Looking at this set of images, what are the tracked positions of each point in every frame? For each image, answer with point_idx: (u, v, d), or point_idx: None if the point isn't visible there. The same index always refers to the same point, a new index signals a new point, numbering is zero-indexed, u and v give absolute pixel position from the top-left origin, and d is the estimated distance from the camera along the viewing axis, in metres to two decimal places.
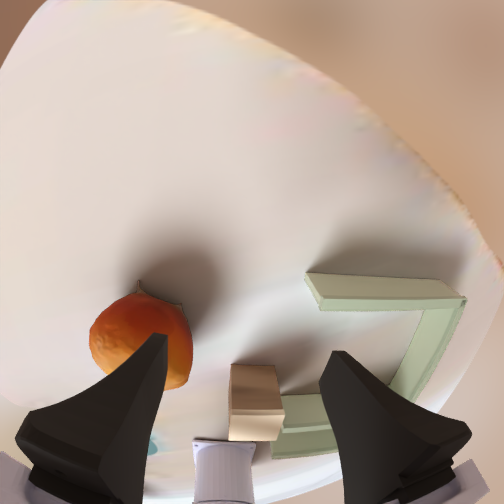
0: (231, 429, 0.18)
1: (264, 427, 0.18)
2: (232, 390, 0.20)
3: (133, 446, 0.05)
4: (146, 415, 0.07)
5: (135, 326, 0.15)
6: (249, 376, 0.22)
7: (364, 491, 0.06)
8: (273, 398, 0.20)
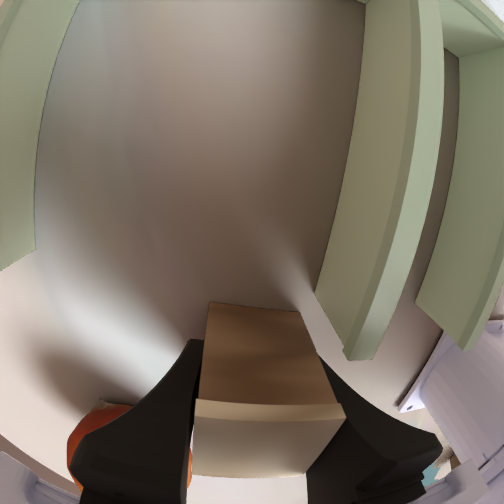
0: (251, 477, 0.07)
1: (256, 443, 0.06)
2: None
3: (186, 456, 0.06)
4: (191, 423, 0.07)
5: None
6: None
7: (324, 499, 0.06)
8: None
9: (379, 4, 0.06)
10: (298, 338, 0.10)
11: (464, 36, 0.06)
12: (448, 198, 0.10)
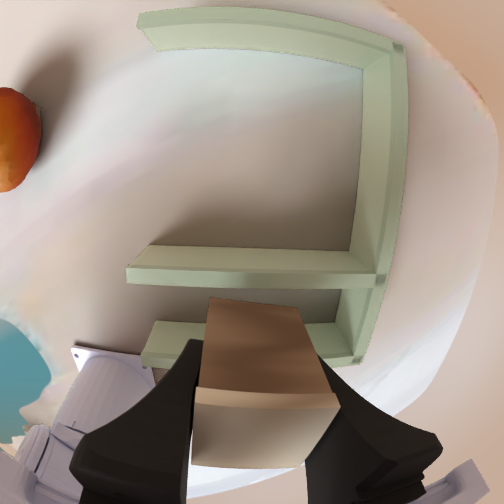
0: (249, 467, 0.08)
1: (254, 432, 0.07)
2: None
3: None
4: (191, 423, 0.07)
5: None
6: None
7: (324, 499, 0.06)
8: None
9: (345, 258, 0.17)
10: (295, 331, 0.10)
11: (347, 320, 0.18)
12: None
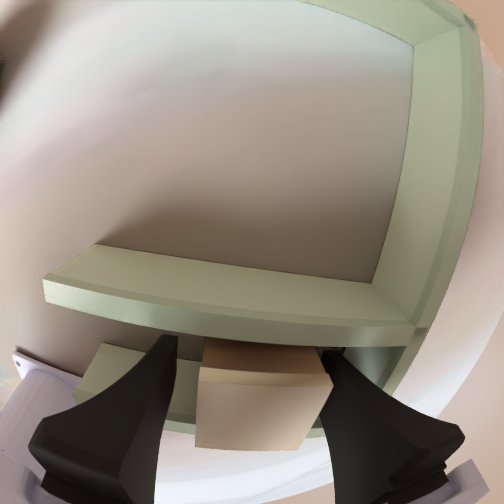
0: (250, 449, 0.08)
1: (254, 410, 0.08)
2: None
3: (147, 449, 0.06)
4: (158, 417, 0.07)
5: None
6: None
7: (354, 493, 0.06)
8: None
9: (368, 294, 0.12)
10: None
11: None
12: (197, 362, 0.14)
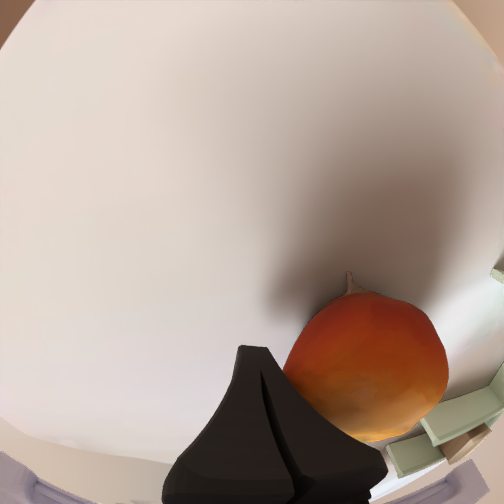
0: (461, 458, 0.15)
1: (474, 445, 0.14)
2: (441, 448, 0.17)
3: None
4: None
5: (428, 346, 0.08)
6: None
7: None
8: (461, 435, 0.16)
9: (490, 393, 0.18)
10: None
11: None
12: (424, 434, 0.21)
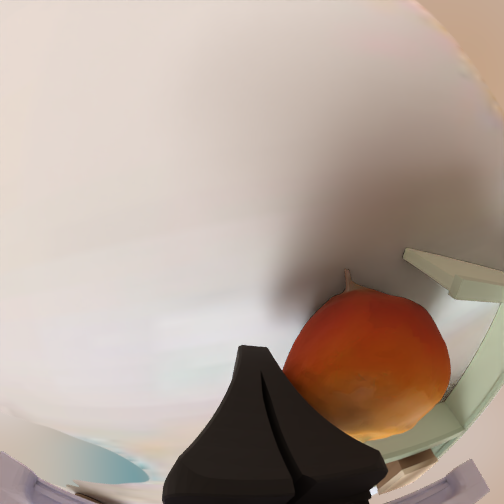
0: (398, 487, 0.14)
1: (411, 475, 0.13)
2: None
3: None
4: None
5: (428, 342, 0.08)
6: None
7: None
8: (393, 462, 0.14)
9: (445, 412, 0.17)
10: None
11: None
12: None
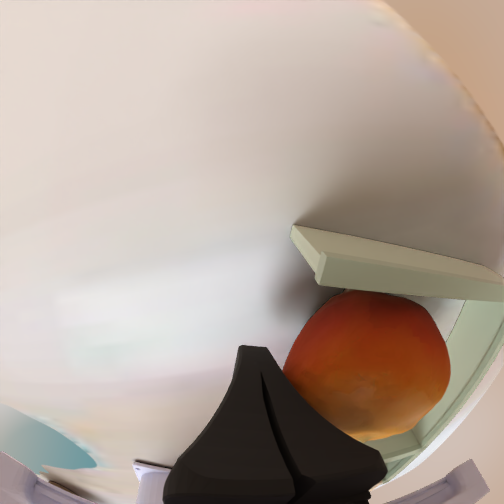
0: None
1: None
2: None
3: None
4: None
5: (429, 342, 0.08)
6: None
7: None
8: None
9: None
10: None
11: None
12: None
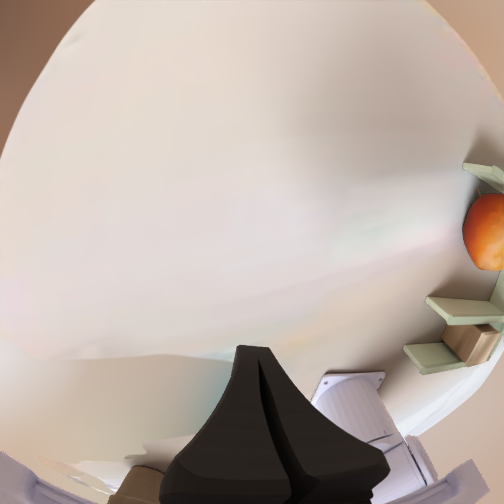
0: (477, 363, 0.20)
1: (487, 344, 0.19)
2: (455, 352, 0.22)
3: None
4: None
5: None
6: (452, 333, 0.24)
7: None
8: (473, 331, 0.21)
9: (492, 306, 0.23)
10: None
11: None
12: (437, 343, 0.26)
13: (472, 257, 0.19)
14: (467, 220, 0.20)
